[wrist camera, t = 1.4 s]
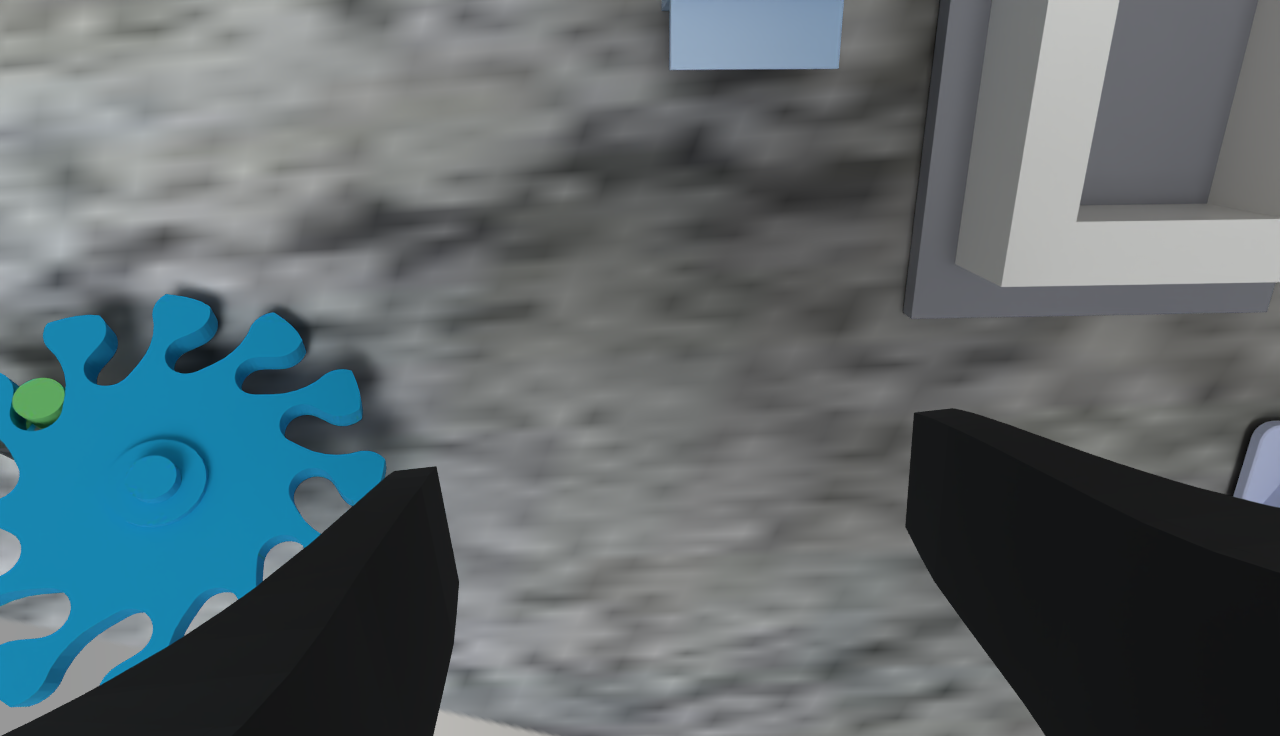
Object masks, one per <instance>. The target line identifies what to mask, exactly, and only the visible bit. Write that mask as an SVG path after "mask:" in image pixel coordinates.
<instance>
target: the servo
mask: <svg viewBox="0 0 1280 736" xmlns="http://www.w3.org/2000/svg"><path fill="white" fill-rule="evenodd" d="M843 5H844V0H662V11H669V70H774V69H839V56H840V43H841V31H842V18H843Z"/></svg>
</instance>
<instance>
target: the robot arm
mask: <svg viewBox="0 0 1280 736" xmlns="http://www.w3.org/2000/svg"><path fill="white" fill-rule="evenodd" d="M905 527H906V529H907V531H908V533H909V535H910V537H911V539H912V541H913V543H914V545H915V547H916V549H917V551H918V552H919V554H920V556H921V558H922V560H923V562H924V564H925V565H926V567H927V569H928V571H929V573H930V574H931V576H932V578H933V580H934V581H935V583H936V584H937V586H938V587H939V589H940V590H941V591H942V593H943V594H944V596H945V597H946V598H947V600H948V601H949V603H950V604H951V605H952V607H953V608H954V609H955V611H956V612H957V614H958V615H959V616H960V618H961V619H962V620H963V622H964V623H965V625H966V626H967V627H968V629H969V630H970V631H971V633H972V634H973V635H974V637H975V638H976V639H977V641H978V642H979V643H980V645H981V646H982V648H983V649H984V650H985V652H986V653H987V654H988V656H989V657H990V658H991V660H992V661H993V662H994V664H995V665H996V666H997V668H998V669H999V671H1000V672H1001V673H1002V675H1003V676H1004V677H1005V679H1006V680H1007V681H1008V683H1009V684H1010V685H1011V687H1012V688H1013V689H1014V691H1015V692H1016V693H1017V695H1018V696H1019V698H1020V699H1021V700H1022V702H1023V703H1024V704H1025V706H1026V707H1027V709H1028V710H1029V712H1030V713H1031V715H1032V716H1033V718H1034V719H1035V721H1036V722H1037V724H1038V725H1039V727H1040V728H1041V730H1042V731H1043V733H1044V734H1045V736H1280V421H1269V422H1265V423H1263V424H1262V425H1260V426H1258V427H1257V428H1256V429H1255V431H1254V433H1253V434H1252V437H1251V440H1250V443H1249V447H1248V450H1247V453H1246V456H1245V460H1244V463H1243V466H1242V469H1241V473H1240V476H1239V479H1238V482H1237V486H1236V489H1235V492H1234V496H1229V495H1225V494H1221V493H1217V492H1213V491H1209V490H1205V489H1201V488H1197V487H1194V486H1190V485H1187V484H1183V483H1180V482H1176V481H1173V480H1169V479H1166V478H1163V477H1160V476H1157V475H1153V474H1150V473H1147V472H1144V471H1141V470H1137V469H1134V468H1131V467H1128V466H1125V465H1121V464H1118V463H1116V462H1113V461H1110V460H1107V459H1104V458H1101V457H1098V456H1095V455H1092V454H1089V453H1086V452H1083V451H1080V450H1078V449H1075V448H1072V447H1069V446H1066V445H1064V444H1061V443H1058V442H1055V441H1052V440H1050V439H1047V438H1044V437H1041V436H1039V435H1036V434H1033V433H1030V432H1027V431H1025V430H1022V429H1019V428H1016V427H1014V426H1011V425H1008V424H1005V423H1002V422H999V421H996V420H993V419H990V418H987V417H984V416H981V415H978V414H974V413H971V412H967V411H963V410H958V409H953V408H952V409H943V410H934V411H925V412H916V413H914V421H913V434H912V447H911V460H910V473H909V486H908V499H907V513H906V526H905ZM458 589H459V579H458V574H457V569H456V564H455V559H454V554H453V549H452V544H451V539H450V533H449V528H448V523H447V518H446V513H445V508H444V503H443V498H442V493H441V487H440V482H439V477H438V472H437V467H436V466H435V467H426V468H418V469H409V470H400V471H394V472H392V473H391V474H389V475H388V476H387V477H385V478H384V479H383V480H382V481H381V482H379V483H378V484H377V485H376V486H375V487H374V488H373V489H371V490H370V491H369V492H368V493H367V494H366V495H365V496H364V497H362V498H361V499H360V500H359V501H358V502H357V503H356V504H355V505H354V506H352V507H351V508H350V509H349V510H348V511H347V512H346V513H345V514H343V515H342V516H341V517H340V518H339V519H338V520H337V521H335V522H334V523H333V524H332V525H331V526H330V527H329V528H327V529H326V530H325V531H324V532H323V533H322V534H321V535H319V536H318V537H317V538H316V539H315V540H314V541H313V542H311V543H310V544H309V545H308V546H306V547H305V548H304V549H303V550H301V551H300V552H299V553H298V554H296V555H295V556H294V557H293V558H291V559H290V560H289V561H288V562H286V563H285V564H284V565H283V566H281V567H280V568H279V569H278V570H276V571H275V572H274V573H273V574H271V575H270V576H269V577H268V578H266V579H265V580H264V581H263V582H261V583H260V584H259V585H258V586H256V587H255V588H254V589H252V590H251V591H250V592H248V593H247V594H246V595H244V596H243V597H241V598H240V599H239V600H237V601H236V602H234V603H233V604H232V605H230V606H229V607H227V608H226V609H224V610H223V611H222V612H220V613H219V614H217V615H216V616H214V617H212V618H211V619H209V620H208V621H206V622H205V623H203V624H202V625H200V626H199V627H197V628H196V629H194V630H193V631H191V632H190V633H188V634H187V635H185V636H184V637H182V638H181V639H179V640H177V641H176V642H174V643H173V644H171V645H169V646H168V647H166V648H164V649H162V650H161V651H159V652H157V653H155V654H154V655H152V656H150V657H148V658H147V659H145V660H143V661H142V662H140V663H138V664H136V665H135V666H133V667H131V668H129V669H128V670H126V671H124V672H122V673H121V674H119V675H117V676H115V677H114V678H112V679H110V680H109V681H107V682H105V683H103V684H102V685H100V686H98V687H96V688H95V689H93V690H91V691H89V692H87V693H85V694H84V695H82V696H80V697H78V698H76V699H74V700H72V701H71V702H69V703H66V704H64V705H62V706H60V707H59V708H56V709H55V710H53V711H51V712H49V713H47V714H45V715H43V716H41V717H39V718H37V719H35V720H33V721H31V722H29V723H27V724H25V725H23V726H21V727H18V728H17V729H14V730H12V731H10V732H8V733H6V734H4V735H2V736H433V734H434V730H435V725H436V721H437V716H438V712H439V708H440V703H441V699H442V695H443V690H444V686H445V681H446V677H447V672H448V667H449V663H450V658H451V654H452V649H453V644H454V635H455V625H456V615H457V602H458Z"/></svg>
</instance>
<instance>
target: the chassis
mask: <svg viewBox="0 0 1280 736" xmlns="http://www.w3.org/2000/svg"><path fill="white" fill-rule="evenodd" d="M1276 282H1280V0H940V8H939V17H938V25H937V33H936V42H935V50H934V58H933V67H932V75H931V84H930V92H929V100H928V109H927V117H926V125H925V134H924V142H923V150H922V159H921V167H920V176H919V184H918V192H917V201H916V209H915V217H914V226H913V234H912V243H911V251H910V259H909V268H908V276H907V284H906V293H905V301H904V309H903V313H904V314H906V315H907V316H908V317H910V318H911V319H925V318H979V317H1032V316H1085V315H1139V314H1192V313H1245V312H1267V310H1268V307H1269V303H1270V300H1271V296H1272V293H1273V290H1274V286H1275V283H1276Z"/></svg>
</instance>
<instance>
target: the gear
mask: <svg viewBox="0 0 1280 736" xmlns="http://www.w3.org/2000/svg"><path fill="white" fill-rule="evenodd" d="M152 315H153V322H154V329H153V337H152V340H151V344H150V346H149V348H148V350H147V352H146V354H145V356H144V357H143V358H142V360H141V361H140V362H139V364H138V365H137V366H136V367H135V368H134V370H133V371H132V372H131V373H130V374H129V375H128V376H127V377H126V378H125V379H124V380H123V381H121V382H119V383H117V384H114V385H109V386H101V385H97V377H98V374H99V372H100V371H101V370H102V368H103V367H104V366H105V365H106V364H107V363H108V362H109V361H110V359H111V358H112V357H113V356H114V354H115V353H116V350H117V347H118V340H117V336H116V334H115V333H114V332H113V331H112V329H111V328H110V327H109V326H108V325H107V323H106V322H105V321H104V320H103V319H102V318H101V317H100V315H82V316H74V317H69V318H64V319H61V320H57V321H53V322H50V323H47V325H46V327H45V328H44V332H43V339H44V343H45V345H46V346H47V348H48V349H49V350H50V351H51V352H52V353H53V354H54V355H55V356H56V357H57V359H58V361H59V362H60V364H61V366H62V369H63V371H64V375H65V382H66V388H64V387H63V386H62V385H61V384H60V383H58V382H57V381H55V380H53V379H49V378H36V379H32V380H30V381H27V382H26V383H24V384H22V385H21V386H20V387H19V386H18V385H17V384H15V383H14V382H13V381H12V380H10V379H9V378H8V377H6V376H5V375H3V374H1V373H0V454H3V455H5V456H7V457H9V458H11V459H13V460H15V462H16V464H17V466H18V468H19V471H20V477H19V481H18V483H17V485H16V487H15V488H14V489H13V490H12V491H11V492H10V493H9V494H7V495H6V496H5V497H2V498H0V528H1V529H3V530H5V531H8V532H10V533H12V534H13V535H15V536H16V537H17V538H18V540H19V541H20V544H21V555H20V558H19V560H18V562H17V563H16V564H15V566H14V567H13V568H12V569H11V570H9V571H8V572H7V573H5V574H3V575H1V576H0V606H2V605H4V604H7V603H9V602H11V601H14V600H17V599H21V598H24V597H28V596H34V595H40V594H51V593H65V594H66V595H67V596H68V598H69V600H70V603H71V611H70V615H69V617H68V620H67V621H66V622H65V624H64V625H63V626H62V627H61V628H60V629H59V630H58V631H56V632H55V633H53V634H51V635H49V636H46V637H42V638H36V639H25V640H15V641H10V642H7V643H4V644H1V645H0V700H1V701H2V702H4V703H5V704H7V705H8V706H9V707H27V706H28V707H29V706H31V705H35V704H37V703H39V702H41V701H43V700H45V699H46V698H47V697H49V696H50V695H51V694H52V693H53V692H54V691H55V690H56V689H57V687H58V686H59V685H60V683H61V681H62V679H63V677H64V674H65V672H66V670H67V669H68V667H69V666H70V664H71V663H72V661H73V660H74V658H75V657H76V656H77V655H78V654H79V652H80V651H81V650H82V649H83V648H84V647H85V646H86V645H87V644H88V643H89V642H90V641H91V640H93V639H94V638H95V637H96V636H97V635H99V634H100V633H102V632H103V631H105V630H106V629H108V628H109V627H111V626H113V625H114V624H116V623H118V622H120V621H121V620H123V619H125V618H127V617H129V616H131V615H133V614H136V613H143V612H145V613H146V614H147V615H148V616H149V617H150V619H151V621H152V624H153V634H152V637H151V639H150V641H149V643H148V644H147V645H146V647H145V648H144V649H143V650H142V651H140V652H139V653H137V654H136V655H134V656H133V657H131V658H129V659H128V660H126V661H124V662H122V663H121V664H119V665H118V666H116V667H115V668H113V669H112V670H111V671H110V672H109V673H108V674H107V675H106V676H105V677H104V679H103V680H102V682H101V683H100V685H102V684H103V683H105V682H107V681H109V680H110V679H112V678H114V677H115V676H117V675H119V674H121V673H122V672H124V671H126V670H128V669H129V668H131V667H133V666H135V665H136V664H138V663H140V662H142V661H143V660H145V659H147V658H148V657H150V656H152V655H154V654H155V653H157V652H159V651H161V650H162V649H164V648H166V647H168V646H169V645H171V644H173V643H174V642H176V641H177V640H179V639H181V638H182V637H184V634H185V632H186V630H187V628H188V627H189V625H190V623H191V622H192V620H193V619H194V617H195V616H196V614H197V613H198V611H199V610H200V608H201V607H202V606H203V604H204V603H205V602H206V601H207V600H208V599H209V598H211V597H212V596H214V595H216V594H219V593H222V592H231V593H234V594H235V595H236V597H237V598H238V600H239V599H240V598H241V597H243V596H244V595H246V594H247V593H248V592H250V591H251V590H252V589H254V588H255V587H256V586H258V585H259V584H260V583H261V582H263V568H264V560H265V557H266V555H267V553H268V552H269V551H270V549H272V548H273V547H274V546H275V545H277V544H279V543H282V542H285V541H293V542H297V543H300V544H301V545H303V547H304V548H305V547H306V546H308V545H309V544H310V543H311V542H313V541H314V540H315V539H316V538H317V537H318V536H319V535H321V534H320V533H319V532H317V531H316V530H314V529H313V528H312V527H311V526H310V525H309V524H307V523H306V522H305V520H304V519H303V518H302V516H301V515H300V513H299V511H298V510H297V508H296V506H295V503H294V493H295V490H296V488H297V487H298V485H299V484H300V483H301V482H303V481H304V480H306V479H308V478H311V477H317V476H319V477H324V478H327V479H329V480H330V481H331V482H332V483H333V484H334V485H335V487H336V488H337V490H338V492H339V493H340V495H341V497H342V498H343V499H344V500H345V502H347V503H348V504H349V505H351V506H354V505H355V504H356V503H357V502H358V501H359V500H360V499H361V498H362V497H364V496H365V495H366V494H367V493H368V492H369V491H370V490H371V489H373V488H374V487H375V486H376V485H377V484H378V483H379V482H381V481H382V480H383V479H384V478H385V474H386V461H385V459H384V458H383V457H382V456H381V455H379V454H377V453H375V452H372V451H358V452H354V453H350V454H340V455H333V454H323V453H318V452H314V451H311V450H309V449H306V448H304V447H302V446H299V445H297V444H295V443H293V442H291V441H289V440H288V439H286V438H285V430H286V427H287V426H288V424H289V423H290V422H291V421H292V420H293V419H295V418H297V417H299V416H302V415H313V416H316V417H318V418H320V419H322V420H324V421H326V422H328V423H330V424H333V425H337V426H348V425H352V424H355V423H357V422H358V421H360V420H361V419H362V414H363V408H362V401H361V396H360V392H359V388H358V385H357V382H356V380H355V377H354V375H353V373H352V371H351V370H346V369H338V370H334V371H331V372H329V373H326V374H325V375H324V376H322V377H321V378H320V379H318V380H317V381H316V382H314V383H312V384H310V385H308V386H307V387H304V388H301V389H299V390H296V391H292V392H288V393H282V394H258V395H255V394H249V393H245V392H244V391H242V384H243V381H244V380H245V378H246V377H247V376H248V375H249V374H251V373H253V372H254V371H258V370H264V369H287V368H290V367H293V366H295V365H296V364H298V363H299V362H300V361H301V360H302V359H303V358H304V356H305V354H306V350H305V347H304V344H303V341H302V339H301V337H300V335H299V333H298V332H297V331H296V330H295V329H294V327H293V326H292V325H290V324H289V323H288V322H287V321H286V320H284V319H283V318H281V317H280V316H279V315H277V314H276V313H274V312H272V313H268V314H265V315H263V316H261V317H259V318H258V319H257V320H255V322H254V323H253V324H252V325H251V328H250V330H249V332H248V334H247V336H246V337H245V338H244V340H243V341H242V343H241V344H240V345H239V346H238V347H237V348H236V349H235V350H234V351H233V352H232V353H230V354H229V355H228V356H226V357H225V358H224V359H222V360H220V361H218V362H216V363H214V364H212V365H210V366H208V367H206V368H203V369H201V370H199V371H197V372H194V373H188V374H184V373H178V372H175V371H174V369H175V364H176V361H177V360H178V359H179V357H181V356H182V355H183V354H184V353H186V352H188V351H190V350H193V349H195V348H197V347H200V346H202V345H204V344H206V343H207V342H209V341H210V340H211V339H212V338H213V337H214V335H215V334H216V331H217V328H218V320H217V318H216V317H215V315H214V313H213V311H212V309H211V307H210V306H208V305H207V304H205V303H203V302H201V301H198V300H195V299H192V298H188V297H183V296H177V295H169V294H165V295H164V296H163V297H161V298H160V299H159V300H158V301H157V302H156V304H155V306H154V308H153V314H152Z"/></svg>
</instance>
